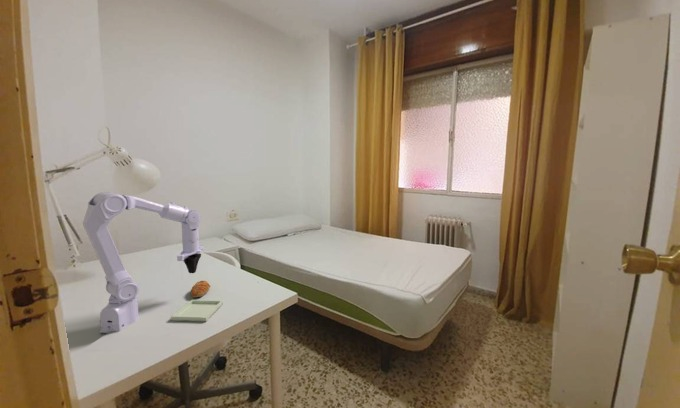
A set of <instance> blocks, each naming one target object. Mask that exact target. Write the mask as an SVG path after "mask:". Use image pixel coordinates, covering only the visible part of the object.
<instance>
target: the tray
mask: <svg viewBox="0 0 680 408" xmlns="http://www.w3.org/2000/svg"><path fill="white" fill-rule="evenodd" d="M223 305H224V300H219V299H218V300H216V299H191V300H190V301H189V302H187V303H186V304H185V305H183V306H182V307H181V308H180V309H179V310H177V311H176V312H175V313H174V314H173V315H171V316H170V320H171V322H193V323H194V322H201V323H204V322H205V323H206V322H208V321H209V320H210V319H211V318H212V316H213V315H215V313H217V311H218V310H219V309H220V308H221V307H222V306H223Z"/></svg>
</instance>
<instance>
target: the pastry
mask: <svg viewBox="0 0 680 408" xmlns="http://www.w3.org/2000/svg"><path fill="white" fill-rule="evenodd" d="M210 288H211V284H209V282H208V281H207V280H200V281H197V282H196V283H195V284H193V286H192V287H191V289H190V294H191V295H190V296H191V297H192V298H200V297H203V296H205V295H207V294H208V292H209V291H210V290H211V289H210Z"/></svg>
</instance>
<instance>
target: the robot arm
mask: <svg viewBox="0 0 680 408" xmlns="http://www.w3.org/2000/svg"><path fill="white" fill-rule="evenodd" d="M133 209H140V210H145V211H148V212H151V213H152V212H153V213H157V214H158V215H159V217H160V218H162V219H166V220H170V221H173V222H178V223H181V238H182V239H181V240H182V241H181V242H182V251H181V252H180V253H179V254H178V255H176V258H177V262H183V263H184V265H186V269H187V271H188V273H189V274H195V273H196V272H197V268H198V264H199V261H200V259H201V256H202V252H203V251H204V250H205V247H204V245H200V233H199V224H200V222H201V220H202V216H201V214H200V213H199V211H197V210H195V209H189V207H188V206H179V205H176V202H171V201H170V202H165V203H163V204H160V203H157V202H154V201H150V200H147V199H144V198H140V197H138V196H133V195H126V194H119V193H111V192H109V191H108V192H107V191H103V192H98V193H96V194H95V195H94V196H93V197H92V198H91V199H89V201H88V202H87V210H86V212H85V216H84V219H83V221H82V226H83V228H84V231H85V233H86V235H87V237H88V239H89V241H90V243H91V245H92V248H93V250H94V252H95V254H96V256H97V259H98V260H99V263H100V265H101V268H102V269H103V272H104V274H105V277H104V279H105V281H106V283H105V289H106V292H107V293H108V294H110V296H109V298H108V303H107V305H106V306H105V307H103V309H101V311H100V315H99V317H100V327H101V328H100V330H99V333H100V334H101V333H103V334H104V333H105V334H108V333H110V332H121V331H122V330H124V329H125V328H126V329H127V327H129V326H130V325H133V324H134V323H136V322H137V321H138V320H139V318H140V317H139V304H138V294H139V292H140V286H139V284H138V283H137V282H135V281H134V280H133V279H132V276H131V275H130V273H128V271H127V269H126V268H125V265H124V263H123V261H122V258H121V256H120V253H119V251H118V248H117V247H116V244H115V242H114V239H113V237H112V235H111V233H110V230H109V227H108V225H109V224H110V223H111V222H112V220H113V219H114V218H115V217H117V216H118V215H120V214H121V213H123V211H125V210H133Z"/></svg>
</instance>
